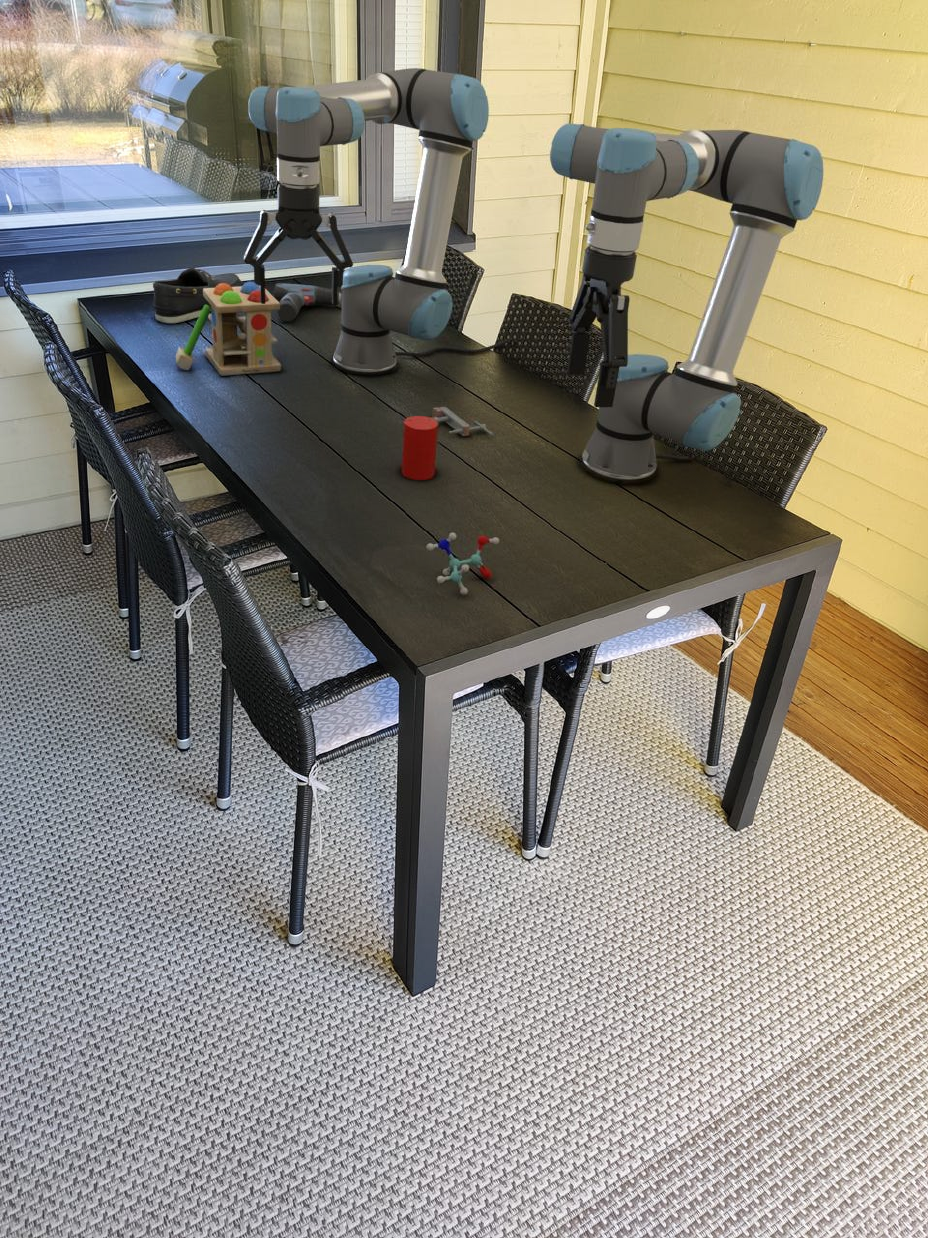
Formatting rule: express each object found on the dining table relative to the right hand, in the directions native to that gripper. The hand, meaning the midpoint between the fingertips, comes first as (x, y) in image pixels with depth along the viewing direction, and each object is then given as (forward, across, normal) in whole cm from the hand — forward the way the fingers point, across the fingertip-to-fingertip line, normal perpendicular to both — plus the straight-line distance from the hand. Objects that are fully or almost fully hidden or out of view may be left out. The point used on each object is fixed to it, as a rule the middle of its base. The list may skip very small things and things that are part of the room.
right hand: (588, 389), depth 153 cm
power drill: (+30, -131, -33) cm, 138 cm away
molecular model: (+30, +7, -20) cm, 37 cm away
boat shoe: (+30, -134, -61) cm, 150 cm away
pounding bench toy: (+30, -91, -55) cm, 111 cm away
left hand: (+4, -54, -41) cm, 68 cm away
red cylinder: (+30, -33, -20) cm, 49 cm away
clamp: (+30, -53, -7) cm, 61 cm away
